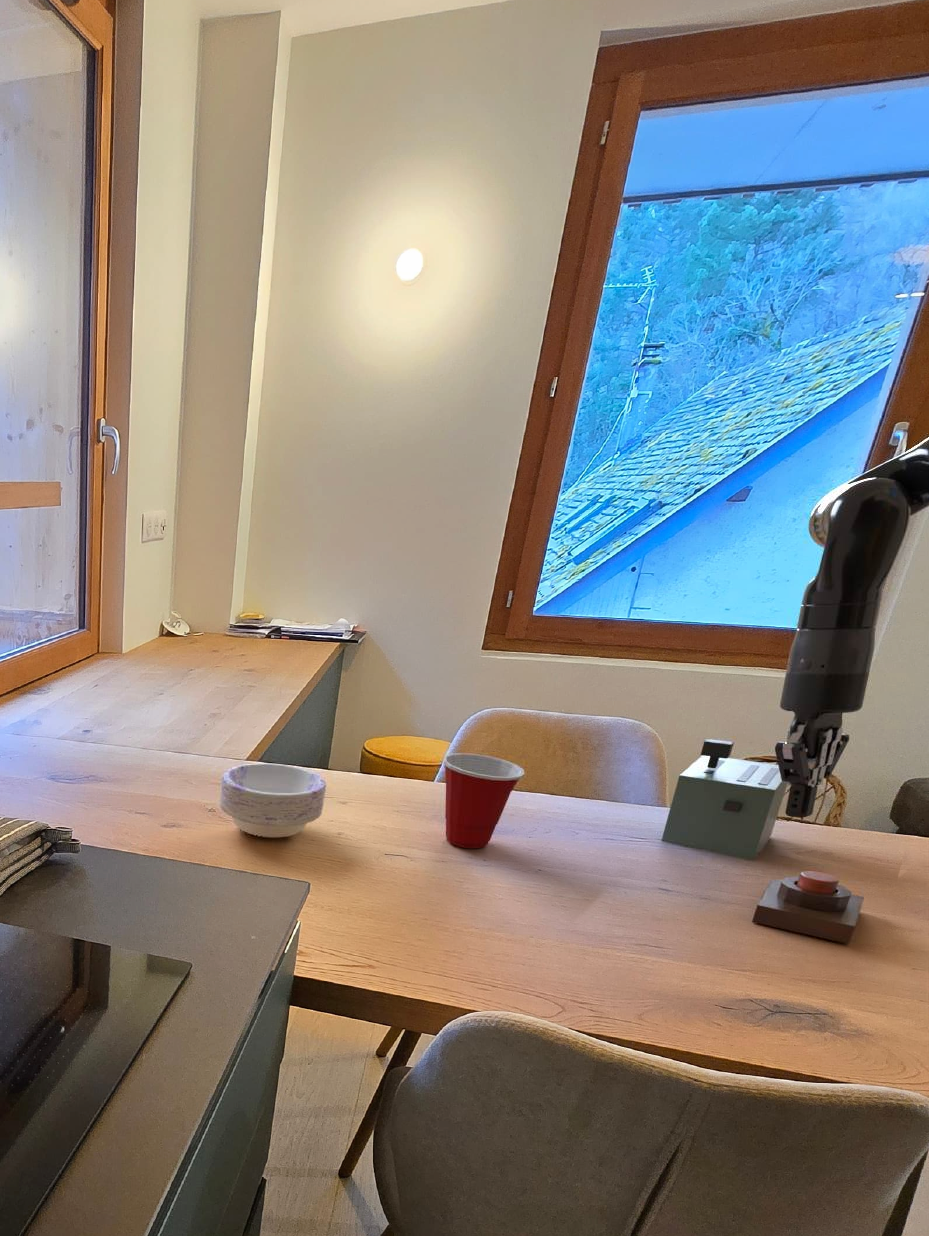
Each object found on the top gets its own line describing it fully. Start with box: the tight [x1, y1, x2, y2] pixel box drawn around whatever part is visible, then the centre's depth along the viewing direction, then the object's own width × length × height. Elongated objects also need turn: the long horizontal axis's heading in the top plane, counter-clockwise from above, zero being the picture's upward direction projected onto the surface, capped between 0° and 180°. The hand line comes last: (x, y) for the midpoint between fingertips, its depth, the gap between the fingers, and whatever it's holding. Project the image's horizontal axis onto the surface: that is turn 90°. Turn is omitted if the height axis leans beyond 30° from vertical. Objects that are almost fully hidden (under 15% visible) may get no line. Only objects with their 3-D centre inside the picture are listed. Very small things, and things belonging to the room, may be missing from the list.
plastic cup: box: [443, 752, 526, 849], centre depth 133 cm, size 11×11×12 cm
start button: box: [796, 870, 840, 894], centre depth 109 cm, size 4×4×2 cm
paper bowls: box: [219, 762, 327, 838], centre depth 139 cm, size 15×15×8 cm
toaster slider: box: [700, 738, 735, 768], centre depth 131 cm, size 2×3×4 cm
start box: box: [751, 876, 865, 945], centre depth 110 cm, size 12×9×4 cm
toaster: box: [660, 755, 788, 861], centre depth 133 cm, size 18×11×11 cm, turn 137°
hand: (798, 816), depth 112 cm, fingers closed
